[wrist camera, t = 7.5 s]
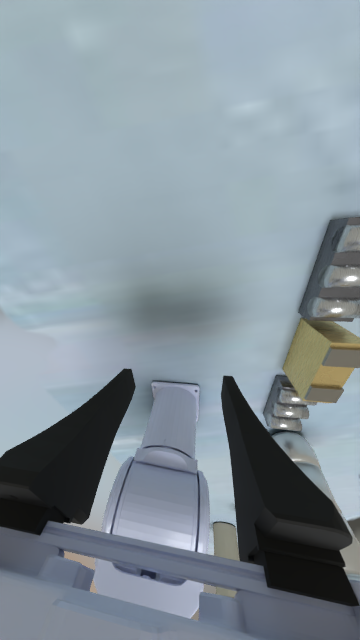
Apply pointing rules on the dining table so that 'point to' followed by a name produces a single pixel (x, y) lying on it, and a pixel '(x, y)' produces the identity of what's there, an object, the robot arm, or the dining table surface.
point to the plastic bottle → (302, 454)
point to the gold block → (321, 360)
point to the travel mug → (225, 548)
